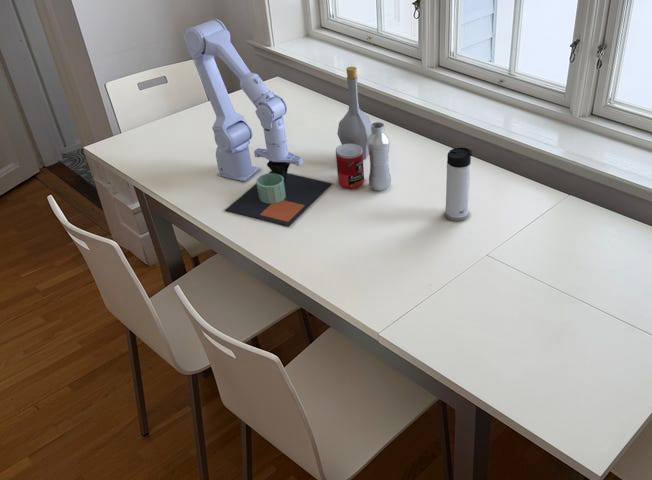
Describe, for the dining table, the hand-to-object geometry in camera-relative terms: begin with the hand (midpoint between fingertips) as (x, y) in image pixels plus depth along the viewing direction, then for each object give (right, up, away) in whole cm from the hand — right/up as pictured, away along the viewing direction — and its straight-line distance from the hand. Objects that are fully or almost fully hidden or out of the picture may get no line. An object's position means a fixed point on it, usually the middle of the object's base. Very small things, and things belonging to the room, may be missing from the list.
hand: (282, 182), depth 193 cm
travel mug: (+51, -10, -7) cm, 52 cm away
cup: (-2, -4, -3) cm, 6 cm away
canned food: (+19, 0, +5) cm, 20 cm away
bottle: (+20, +8, +15) cm, 26 cm away
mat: (0, -5, -3) cm, 5 cm away
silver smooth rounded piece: (+28, -1, +3) cm, 28 cm away
